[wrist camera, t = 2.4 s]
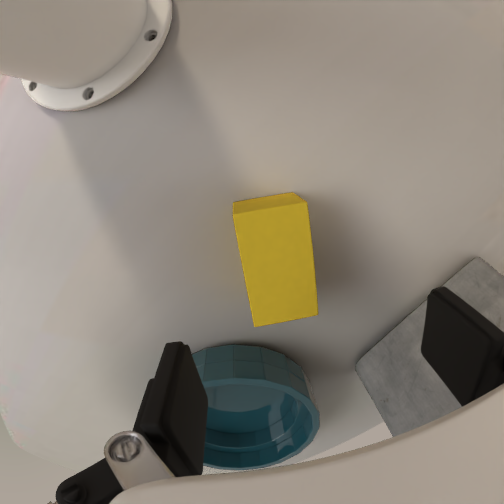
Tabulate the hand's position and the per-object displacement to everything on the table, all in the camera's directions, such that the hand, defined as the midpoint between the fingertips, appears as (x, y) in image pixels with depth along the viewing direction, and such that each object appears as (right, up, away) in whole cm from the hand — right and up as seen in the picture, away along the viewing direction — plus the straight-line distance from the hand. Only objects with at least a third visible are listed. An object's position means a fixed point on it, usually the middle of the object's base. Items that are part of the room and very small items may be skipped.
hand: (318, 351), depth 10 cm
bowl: (-4, -10, +14) cm, 18 cm away
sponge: (-1, +4, +10) cm, 11 cm away
